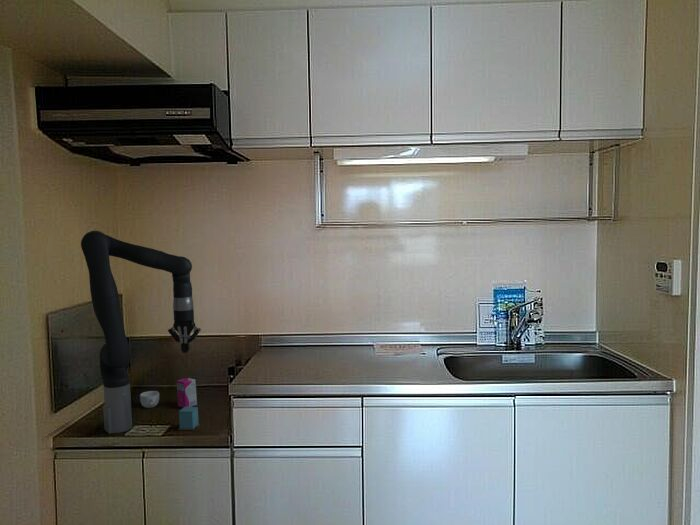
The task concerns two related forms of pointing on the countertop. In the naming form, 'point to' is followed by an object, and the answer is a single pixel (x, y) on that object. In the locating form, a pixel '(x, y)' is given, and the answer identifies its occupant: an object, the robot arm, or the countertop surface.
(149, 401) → the teacup
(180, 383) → the supplement box
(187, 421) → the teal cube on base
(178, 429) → the dark stepped block
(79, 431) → the countertop surface
